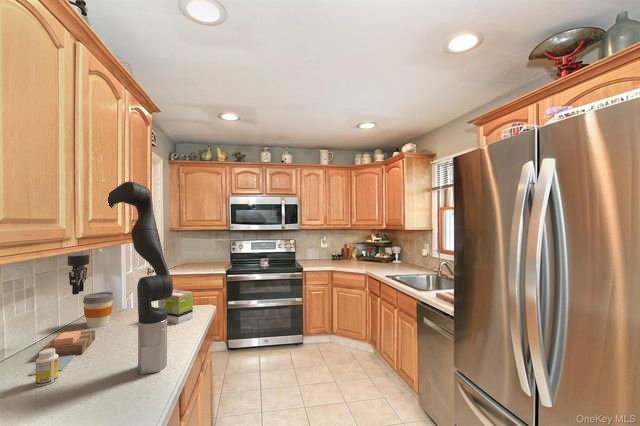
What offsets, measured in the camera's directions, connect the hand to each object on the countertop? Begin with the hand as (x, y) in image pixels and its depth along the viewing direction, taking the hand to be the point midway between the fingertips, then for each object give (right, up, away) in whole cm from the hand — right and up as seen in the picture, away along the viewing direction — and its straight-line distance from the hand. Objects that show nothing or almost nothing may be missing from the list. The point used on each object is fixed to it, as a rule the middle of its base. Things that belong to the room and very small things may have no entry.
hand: (78, 292), depth 131 cm
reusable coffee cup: (-6, -22, +21) cm, 31 cm away
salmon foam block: (+4, -17, -10) cm, 20 cm away
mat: (+8, -21, -21) cm, 31 cm away
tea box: (+29, -22, +29) cm, 46 cm away
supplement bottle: (+16, -21, -33) cm, 42 cm away
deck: (+3, -21, -8) cm, 23 cm away
